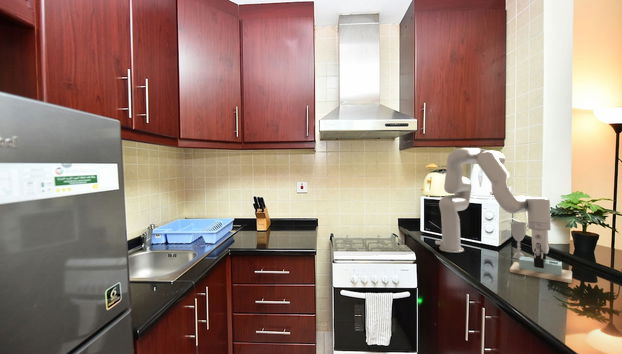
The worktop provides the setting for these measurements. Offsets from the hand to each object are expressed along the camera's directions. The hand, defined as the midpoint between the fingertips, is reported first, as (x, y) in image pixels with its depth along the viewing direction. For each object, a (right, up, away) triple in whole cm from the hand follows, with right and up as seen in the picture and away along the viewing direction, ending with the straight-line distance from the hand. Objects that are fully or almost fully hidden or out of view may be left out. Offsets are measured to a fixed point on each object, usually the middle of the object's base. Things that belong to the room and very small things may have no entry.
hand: (540, 264), depth 120 cm
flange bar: (0, -2, 0) cm, 2 cm away
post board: (0, -4, 0) cm, 4 cm away
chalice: (+7, -4, +21) cm, 23 cm away
